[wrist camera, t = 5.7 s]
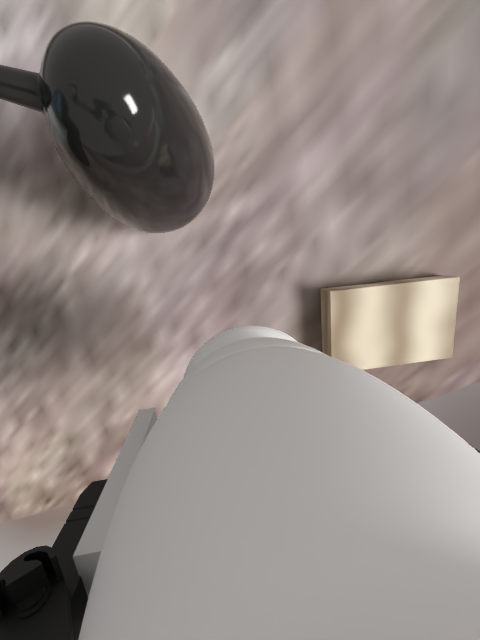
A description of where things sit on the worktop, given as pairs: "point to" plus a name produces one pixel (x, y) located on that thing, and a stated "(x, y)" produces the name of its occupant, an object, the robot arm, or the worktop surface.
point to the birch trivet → (390, 321)
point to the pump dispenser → (120, 125)
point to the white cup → (291, 509)
